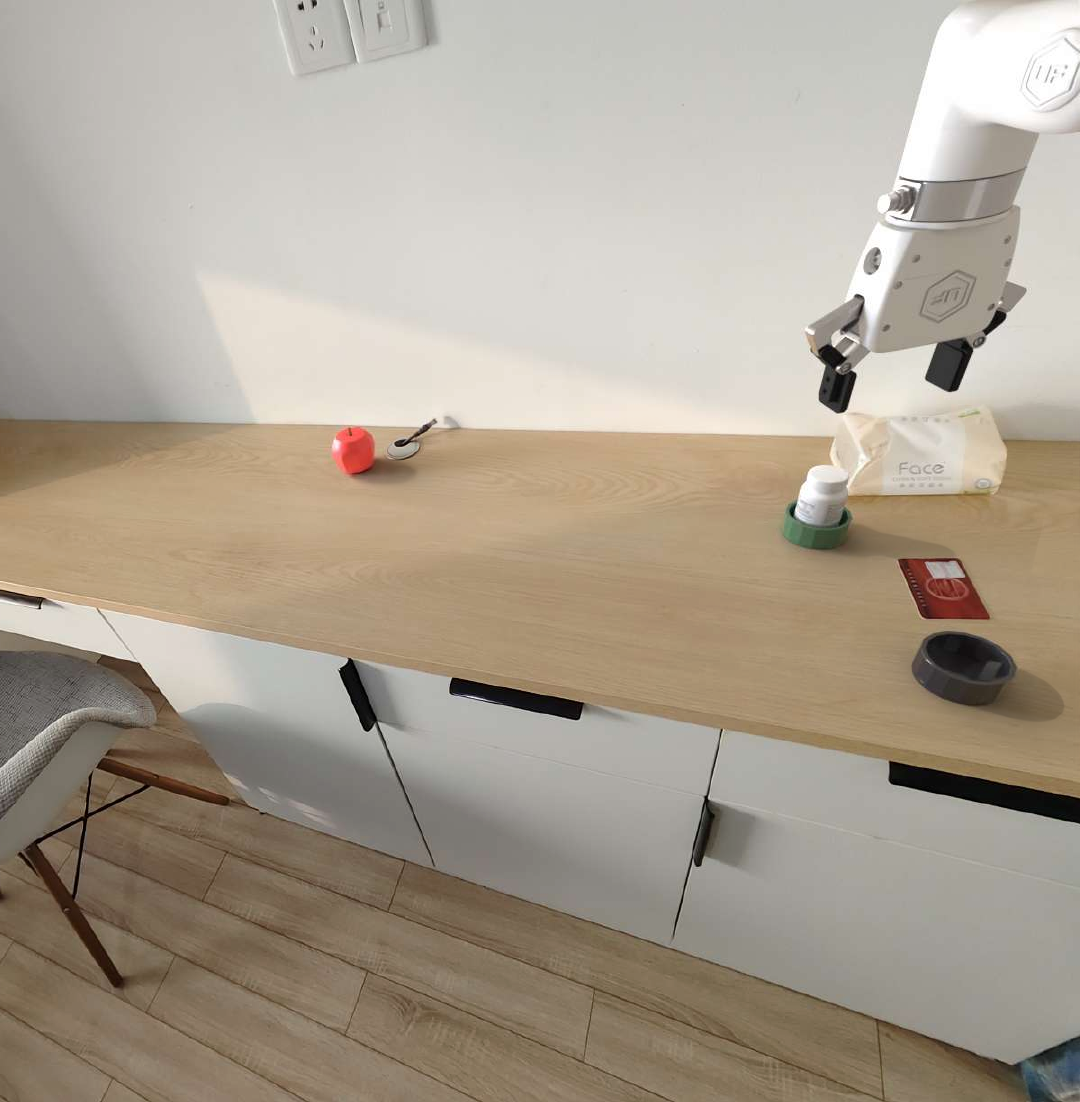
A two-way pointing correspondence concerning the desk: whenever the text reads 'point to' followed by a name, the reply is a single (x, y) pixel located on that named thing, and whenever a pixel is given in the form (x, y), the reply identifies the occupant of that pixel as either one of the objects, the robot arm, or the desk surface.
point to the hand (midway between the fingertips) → (885, 396)
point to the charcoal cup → (963, 668)
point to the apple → (353, 450)
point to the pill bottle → (822, 497)
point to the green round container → (814, 530)
